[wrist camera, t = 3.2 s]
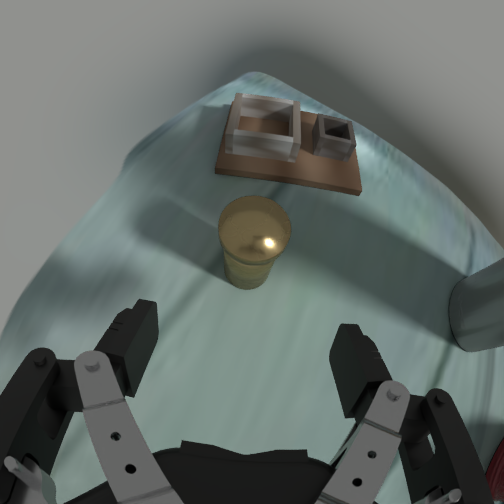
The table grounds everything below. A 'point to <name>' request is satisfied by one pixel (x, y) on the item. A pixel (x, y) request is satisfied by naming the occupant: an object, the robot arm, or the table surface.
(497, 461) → the canister
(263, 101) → the collar base
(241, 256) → the gold round-topped cylinder
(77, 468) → the table surface
